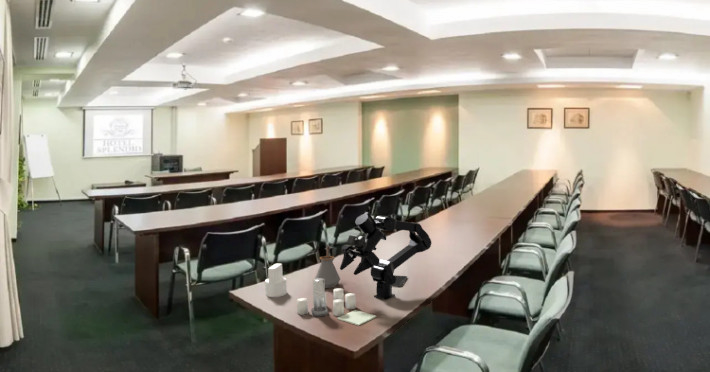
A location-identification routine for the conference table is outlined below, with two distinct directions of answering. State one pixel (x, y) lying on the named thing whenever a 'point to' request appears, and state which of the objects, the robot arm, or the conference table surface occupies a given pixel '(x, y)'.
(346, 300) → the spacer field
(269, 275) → the cylinder with rectangular tab
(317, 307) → the silver cylinder
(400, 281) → the phone
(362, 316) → the sage mat
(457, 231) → the conference table surface
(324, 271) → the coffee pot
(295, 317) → the conference table surface
